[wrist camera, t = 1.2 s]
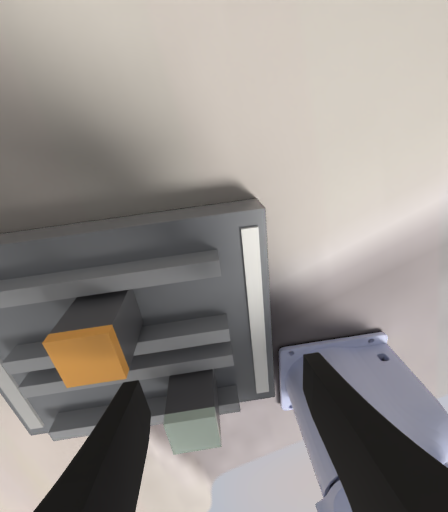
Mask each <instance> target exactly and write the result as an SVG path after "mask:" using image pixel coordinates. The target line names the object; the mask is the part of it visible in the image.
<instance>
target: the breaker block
mask: <svg viewBox="0 0 448 512" xmlns="http://www.w3.org/2000/svg"><path fill="white" fill-rule="evenodd" d="M130 289H133V291H134V294H135V297H136V300H137V304H138V307H139V310H140V313H141V316H142V319H143V326H142V329H141V332H140V335H139V339H138V342H137V345H136V349H135V352H134V355H133V359H132V362H131V365H130V369H129V372H128V375H127V379H122V380H116V381H110V382H103V383H97V384H90V385H84V386H77V387H71V388H66V386H65V384H64V382H63V380H62V378H61V377H60V375H59V373H58V371H57V369H56V368H55V366H54V364H53V362H52V360H51V359H50V357H49V355H48V353H47V351H46V350H45V348H44V346H43V344H42V342H43V341H44V340H45V339H46V337H47V336H48V335H49V333H50V332H51V331H52V329H53V328H54V327H55V325H56V324H57V323H58V321H59V320H60V319H61V317H62V316H63V315H64V313H65V312H66V311H67V310H68V308H69V307H70V306H71V304H72V303H73V302H74V300H75V299H76V298H77V297H82V296H89V295H95V294H102V293H109V292H116V291H123V290H130ZM135 380H139V382H140V384H141V387H142V390H143V392H144V395H145V398H146V401H147V403H148V406H149V409H150V411H151V423H150V426H152V425H158V424H163V425H164V428H165V431H166V434H167V437H168V440H169V442H170V445H171V448H172V451H173V454H181V453H187V452H193V451H199V450H205V449H211V448H217V447H221V432H220V418H219V415H221V414H227V413H233V412H240V404H239V402H245V401H251V400H258V399H264V398H270V397H275V388H274V368H273V348H272V329H271V309H270V289H269V270H268V250H267V230H266V211H265V207H264V206H263V205H262V204H261V203H260V202H259V200H258V199H257V198H255V199H248V200H241V201H234V202H226V203H219V204H212V205H205V206H197V207H190V208H183V209H176V210H168V211H161V212H154V213H147V214H139V215H132V216H125V217H118V218H111V219H103V220H96V221H89V222H82V223H74V224H67V225H60V226H53V227H45V228H38V229H31V230H24V231H16V232H9V233H2V234H0V393H1V395H2V396H3V398H4V399H5V400H6V402H7V403H8V404H9V406H10V407H11V409H12V410H13V411H14V413H15V414H16V416H17V417H18V418H19V420H20V421H21V422H22V424H23V425H24V427H25V428H26V429H27V431H28V432H29V434H30V435H37V434H43V433H48V434H49V435H50V437H51V438H52V440H53V441H58V440H64V439H70V438H77V437H83V436H89V435H90V434H91V432H92V431H93V429H94V428H95V426H96V425H97V423H98V421H99V420H100V418H101V417H102V415H103V414H104V412H105V410H106V409H107V407H108V406H109V404H110V402H111V401H112V399H113V398H114V396H115V394H116V393H117V391H118V390H119V388H120V386H121V385H122V384H123V382H129V381H135Z"/></svg>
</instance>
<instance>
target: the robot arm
mask: <svg viewBox="0 0 448 512" xmlns="http://www.w3.org/2000/svg"><path fill="white" fill-rule="evenodd" d="M387 339H388V336H387V335H386V334H385V333H384V332H378V333H371V334H365V335H358V336H352V337H345V338H339V339H332V340H326V341H319V342H313V343H306V344H300V345H293V346H287V347H282V348H281V349H280V350H279V377H280V403H281V408H282V409H283V410H294V413H295V416H296V419H297V422H298V425H299V428H300V431H301V434H302V437H303V440H304V442H305V445H306V448H307V451H308V454H309V457H310V460H311V463H312V466H313V469H314V472H315V475H316V478H317V480H318V483H319V486H320V489H321V492H322V495H323V499H322V500H321V501H319V502H317V503H316V508H317V511H318V512H448V414H447V412H446V411H445V409H444V408H443V407H442V405H441V404H440V403H439V401H438V400H437V399H436V398H435V397H434V396H433V395H432V393H431V392H430V391H429V390H428V389H427V388H426V387H425V386H424V384H423V383H422V382H421V381H420V380H419V379H418V378H417V377H416V376H415V374H414V373H413V372H412V371H411V370H410V369H409V368H408V367H407V366H406V364H405V363H404V362H403V361H402V360H401V359H400V358H399V357H398V356H397V354H396V353H395V352H394V351H393V350H392V349H391V348H390V347H389V346H388V344H387ZM290 351H291V352H290ZM150 423H151V411H150V409H149V406H148V403H147V401H146V398H145V395H144V392H143V390H142V387H141V384H140V382H139V380H135V381H129V382H123V384H122V385H121V386H120V388H119V390H118V391H117V393H116V394H115V396H114V398H113V399H112V401H111V402H110V404H109V406H108V407H107V409H106V410H105V412H104V414H103V415H102V417H101V418H100V420H99V421H98V423H97V425H96V426H95V428H94V429H93V431H92V432H91V434H90V435H89V437H88V438H87V440H86V441H85V443H84V444H83V446H82V447H81V448H80V450H79V451H78V453H77V454H76V456H75V457H74V458H73V460H72V461H71V463H70V464H69V465H68V467H67V468H66V470H65V471H64V472H63V474H62V475H61V477H60V478H59V479H58V481H57V482H56V483H55V485H54V486H53V487H52V488H51V490H50V491H49V492H48V494H47V495H46V496H45V498H44V499H43V500H42V501H41V503H40V504H39V505H38V506H37V508H36V509H35V510H34V511H33V512H135V510H136V505H137V500H138V495H139V490H140V485H141V480H142V474H143V469H144V464H145V459H146V454H147V449H148V443H149V434H150Z"/></svg>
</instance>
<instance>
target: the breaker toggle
mask: <svg viewBox="0 0 448 512" xmlns="http://www.w3.org/2000/svg"><path fill="white" fill-rule="evenodd" d="M142 326H143V319H142V316H141V313H140V310H139V307H138V304H137V300H136V297H135V294H134V291H133V289H130V290H123V291H116V292H109V293H102V294H95V295H89V296H82V297H77V298H76V299H75V300H74V302H73V303H72V304H71V306H70V307H69V308H68V310H67V311H66V312H65V313H64V315H63V316H62V317H61V319H60V320H59V321H58V323H57V324H56V325H55V327H54V328H53V329H52V331H51V332H50V333H49V335H48V336H47V337H46V339H45V340H44V341H43V342H42V344H43V346H44V348H45V350H46V351H47V353H48V355H49V357H50V359H51V360H52V362H53V364H54V366H55V368H56V369H57V371H58V373H59V375H60V377H61V378H62V380H63V382H64V384H65V386H66V388H71V387H77V386H84V385H90V384H97V383H103V382H110V381H116V380H122V379H127V375H128V372H129V369H130V365H131V362H132V359H133V355H134V352H135V349H136V345H137V342H138V339H139V335H140V332H141V329H142Z"/></svg>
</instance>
